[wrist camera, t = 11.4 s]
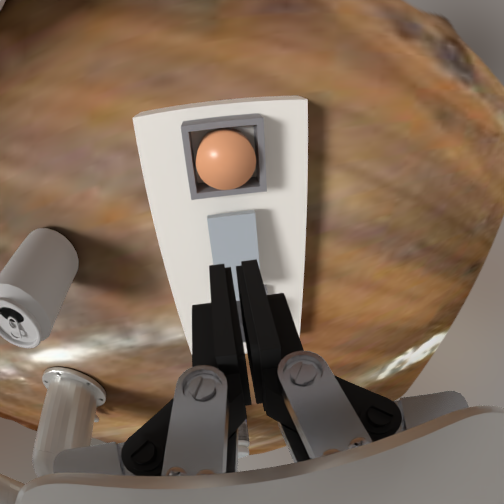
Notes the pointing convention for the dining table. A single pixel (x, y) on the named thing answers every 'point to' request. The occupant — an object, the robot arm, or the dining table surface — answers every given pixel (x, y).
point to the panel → (228, 193)
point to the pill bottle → (243, 440)
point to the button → (225, 158)
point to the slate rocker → (233, 240)
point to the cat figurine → (2, 3)
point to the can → (35, 287)
